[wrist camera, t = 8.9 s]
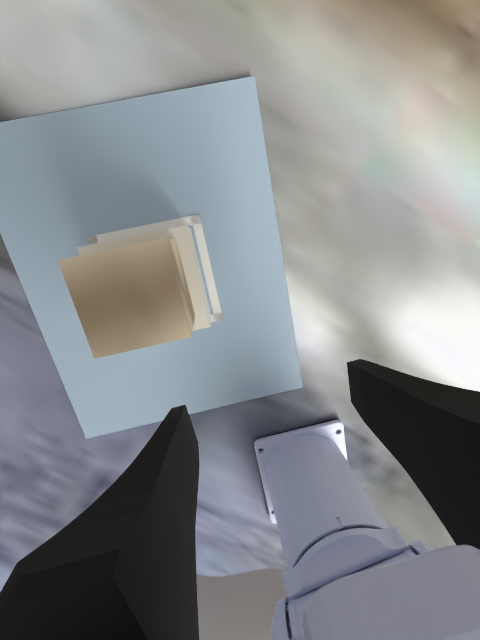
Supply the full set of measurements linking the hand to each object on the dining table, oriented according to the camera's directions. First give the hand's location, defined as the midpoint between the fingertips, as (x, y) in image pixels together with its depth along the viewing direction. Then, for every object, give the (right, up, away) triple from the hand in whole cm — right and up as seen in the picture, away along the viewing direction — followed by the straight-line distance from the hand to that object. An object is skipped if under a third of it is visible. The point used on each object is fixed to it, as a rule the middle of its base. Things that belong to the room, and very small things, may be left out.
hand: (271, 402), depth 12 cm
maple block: (-7, +5, +4) cm, 10 cm away
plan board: (-7, +6, +8) cm, 13 cm away
